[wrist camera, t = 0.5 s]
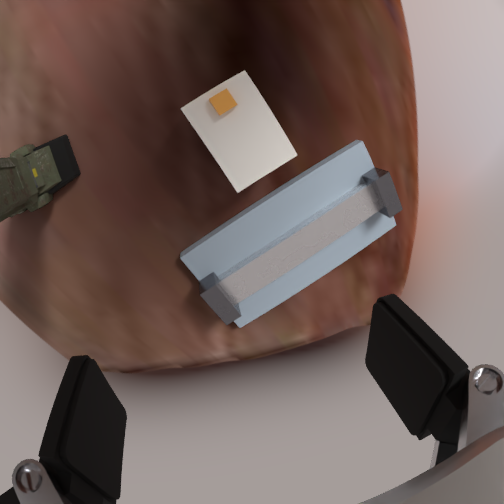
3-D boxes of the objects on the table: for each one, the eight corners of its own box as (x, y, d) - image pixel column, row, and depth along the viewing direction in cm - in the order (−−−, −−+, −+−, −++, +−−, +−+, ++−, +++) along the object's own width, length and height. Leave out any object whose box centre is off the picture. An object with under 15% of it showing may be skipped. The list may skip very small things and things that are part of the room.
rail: (374, 167, 31) (388, 171, 29) (388, 202, 34) (402, 209, 31) (199, 281, 33) (199, 294, 30) (224, 310, 35) (226, 325, 33)
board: (356, 140, 31) (362, 140, 30) (389, 221, 36) (396, 225, 35) (180, 252, 33) (180, 258, 32) (238, 321, 38) (239, 328, 37)
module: (234, 82, 27) (246, 68, 20) (276, 149, 30) (300, 156, 23) (184, 113, 27) (179, 107, 20) (228, 179, 31) (239, 195, 24)
